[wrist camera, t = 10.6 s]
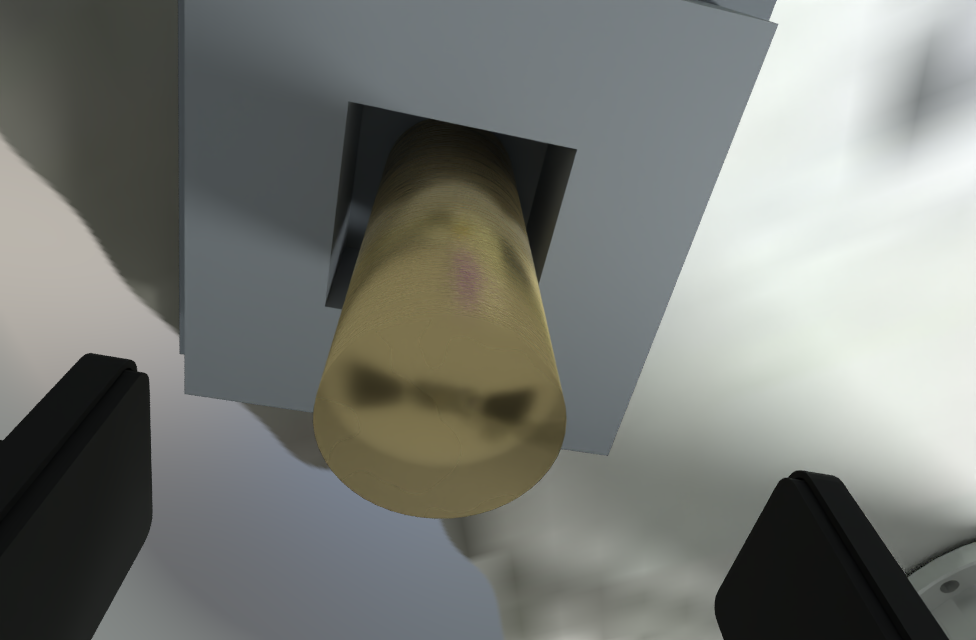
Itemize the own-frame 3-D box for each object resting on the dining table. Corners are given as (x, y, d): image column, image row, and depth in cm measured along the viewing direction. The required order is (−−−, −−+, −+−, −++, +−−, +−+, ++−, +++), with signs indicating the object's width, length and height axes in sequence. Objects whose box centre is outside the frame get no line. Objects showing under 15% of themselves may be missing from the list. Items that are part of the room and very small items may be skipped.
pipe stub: (497, 250, 22) (532, 531, 12) (376, 228, 22) (302, 502, 12) (527, 130, 21) (598, 342, 10) (394, 103, 20) (325, 297, 10)
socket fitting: (608, 404, 27) (637, 496, 23) (189, 338, 25) (132, 426, 21) (777, -43, 19) (869, -33, 15) (191, -196, 17) (101, -237, 13)
